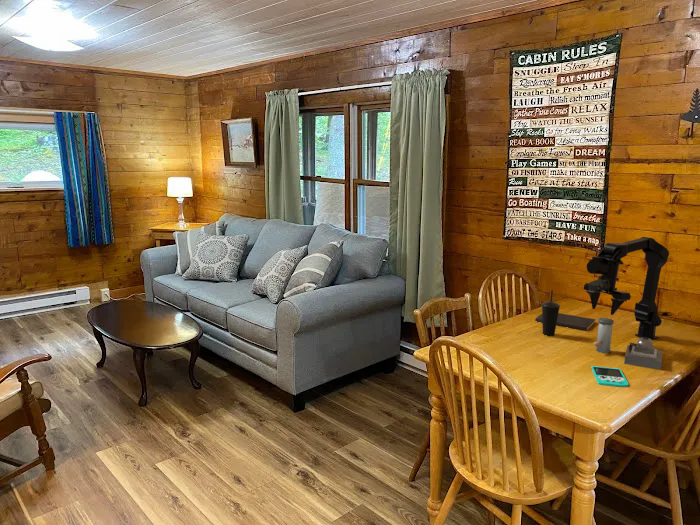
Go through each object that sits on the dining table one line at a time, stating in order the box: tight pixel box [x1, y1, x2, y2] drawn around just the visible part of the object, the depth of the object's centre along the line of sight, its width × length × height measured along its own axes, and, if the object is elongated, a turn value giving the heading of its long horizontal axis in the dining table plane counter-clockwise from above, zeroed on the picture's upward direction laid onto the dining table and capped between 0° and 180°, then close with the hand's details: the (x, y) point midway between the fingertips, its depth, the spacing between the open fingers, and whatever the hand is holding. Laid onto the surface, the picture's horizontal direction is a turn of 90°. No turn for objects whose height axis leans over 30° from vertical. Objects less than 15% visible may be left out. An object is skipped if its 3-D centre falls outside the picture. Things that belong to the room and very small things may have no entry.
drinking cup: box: [541, 289, 561, 337], centre depth 234 cm, size 8×8×20 cm
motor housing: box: [623, 337, 663, 371], centre depth 208 cm, size 20×12×6 cm, turn 150°
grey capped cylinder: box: [593, 317, 615, 354], centre depth 214 cm, size 8×5×13 cm, turn 123°
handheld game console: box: [591, 365, 630, 388], centre depth 190 cm, size 10×16×1 cm, turn 165°
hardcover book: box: [534, 312, 596, 332], centre depth 253 cm, size 16×23×2 cm
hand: (602, 311), depth 220 cm, fingers open, 9 cm apart
